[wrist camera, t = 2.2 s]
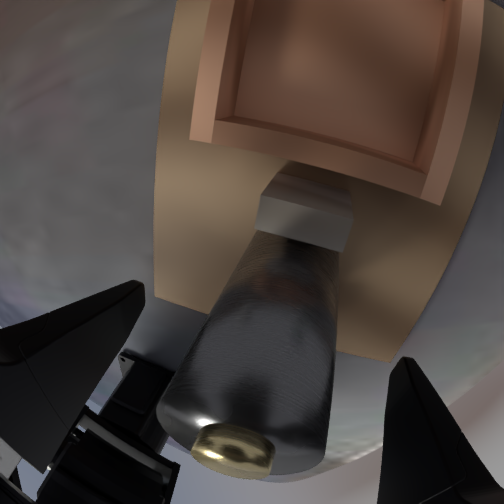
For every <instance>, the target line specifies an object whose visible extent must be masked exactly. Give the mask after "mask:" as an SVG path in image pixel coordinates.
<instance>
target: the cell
mask: <svg viewBox="0 0 504 504" xmlns="http://www.w3.org/2000/svg"><path fill="white" fill-rule="evenodd" d="M338 299H339V252H338V251H335V250H331V249H327V248H324V247H320V246H317V245H313V244H309V243H306V242H302V241H298V240H295V239H291V238H287V237H284V236H280V235H276V234H272V233H269V232H265V231H261V230H257V231H256V233H255V234H254V236H253V238H252V240H251V241H250V243H249V245H248V247H247V248H246V250H245V252H244V254H243V255H242V257H241V259H240V261H239V262H238V264H237V266H236V268H235V269H234V271H233V273H232V274H231V276H230V278H229V280H228V281H227V283H226V285H225V287H224V288H223V290H222V292H221V294H220V295H219V297H218V299H217V301H216V302H215V304H214V306H213V308H212V309H211V311H210V313H209V315H208V317H207V318H206V320H205V322H204V324H203V325H202V327H201V329H200V331H199V332H198V334H197V336H196V338H195V339H194V341H193V343H192V345H191V346H190V348H189V350H188V352H187V353H186V355H185V357H184V359H183V361H182V362H181V364H180V366H179V368H178V369H177V371H176V373H175V375H174V376H173V378H172V380H171V382H170V384H169V385H168V387H167V389H166V391H165V392H164V394H163V396H162V398H161V400H160V401H159V403H158V405H157V408H156V415H157V418H158V420H159V422H160V424H161V426H162V427H163V429H164V430H165V431H166V432H167V433H168V434H169V435H170V436H171V437H172V438H173V439H174V440H175V441H176V442H178V443H179V444H180V445H182V446H183V447H185V448H186V449H188V450H189V451H191V455H192V456H193V457H194V459H195V460H197V461H198V462H199V463H201V464H202V465H204V466H206V467H207V468H209V469H211V470H214V471H216V472H219V473H222V474H224V475H228V476H231V477H236V478H242V479H262V478H266V477H267V476H269V475H286V474H294V473H299V472H303V471H306V470H309V469H311V468H313V467H315V466H316V465H318V464H319V463H320V462H321V461H322V460H323V458H324V455H325V450H326V443H327V436H328V428H329V420H330V411H331V402H332V392H333V382H334V370H335V357H336V342H337V324H338Z"/></svg>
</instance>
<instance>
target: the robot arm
mask: <svg viewBox="0 0 504 504" xmlns="http://www.w3.org/2000/svg"><path fill="white" fill-rule="evenodd" d="M144 306H145V287H144V284H143V283H142V282H139V281H136V280H130V281H128V282H125V283H123V284H120V285H117V286H115V287H112V288H110V289H107V290H105V291H102V292H99V293H97V294H94V295H92V296H89V297H87V298H84V299H81V300H79V301H76V302H74V303H71V304H69V305H66V306H64V307H61V308H59V309H56V310H54V311H51V312H50V313H46V314H43V315H41V316H38V317H36V318H33V319H30V320H27V321H24V322H21V323H18V324H15V325H12V326H8V327H5V328H2V329H0V504H170V502H171V498H172V495H173V491H174V487H175V484H176V480H177V477H178V473H179V470H180V465H179V464H178V463H176V462H172V461H170V460H168V459H166V458H164V457H163V456H161V455H160V453H161V451H162V449H163V447H164V445H165V443H166V441H167V439H168V437H169V434H168V433H167V432H166V431H165V430H164V429H163V427H162V426H161V424H160V422H159V420H158V418H157V415H156V408H157V405H158V403H159V401H160V400H161V398H162V396H163V394H164V392H165V391H166V389H167V387H168V385H169V384H170V382H171V380H172V378H173V376H174V375H175V374H174V373H171V372H169V371H166V370H164V369H161V368H159V367H156V366H154V365H151V364H149V363H147V362H144V361H142V360H140V359H137V358H135V357H133V356H131V355H128V354H126V353H124V352H121V353H120V354H119V355H118V360H119V364H120V368H121V372H122V376H123V378H122V380H121V381H120V383H119V384H118V385H117V387H116V388H115V390H114V391H113V393H112V394H111V396H110V397H109V399H108V400H107V402H106V403H105V405H104V406H103V408H102V409H101V411H100V412H99V414H98V415H97V414H96V413H94V412H93V411H92V410H90V409H89V407H88V406H87V405H85V403H86V402H87V400H88V399H89V397H90V396H91V394H92V392H93V391H94V389H95V388H96V386H97V385H98V383H99V381H100V380H101V378H102V377H103V375H104V374H105V372H106V371H107V369H108V368H109V366H110V365H111V363H112V362H113V360H114V359H115V357H116V356H117V354H118V353H119V351H120V350H121V348H122V347H123V345H124V343H125V342H126V340H127V338H128V337H129V335H130V333H131V331H132V329H133V327H134V325H135V323H136V321H137V320H138V318H139V316H140V314H141V312H142V310H143V308H144ZM79 425H80V426H81V427H83V428H84V429H85V430H86V431H85V433H84V432H82V431H81V430H79V429H78V426H79ZM22 458H23V459H24V460H25V461H27V462H28V463H29V464H30V465H31V466H33V467H34V468H35V469H37V470H38V471H39V472H40V473H42V474H44V472H45V471H46V469H48V470H50V471H49V473H48V475H47V476H46V478H45V480H44V481H43V483H42V485H41V486H40V488H39V490H38V491H37V500H36V502H35V501H33V500H32V499H30V497H28V496H27V495H26V494H25V493H23V492H22V488H21V484H20V479H19V475H18V470H17V465H18V463H19V462H20V460H21V459H22ZM377 504H504V489H503V488H502V487H500V485H499V484H498V483H497V482H496V481H495V480H494V478H493V477H492V475H491V474H490V472H489V471H488V470H487V468H486V467H485V465H484V464H483V463H482V461H481V460H480V458H479V457H478V455H477V454H476V453H475V451H474V450H473V448H472V446H471V445H470V443H469V442H468V440H467V439H466V437H465V435H464V434H463V433H462V432H461V429H460V427H459V426H458V424H457V423H456V421H455V419H454V418H453V416H452V415H451V413H450V412H449V410H448V408H447V407H446V405H445V404H444V402H443V401H442V399H441V398H440V396H439V395H438V393H437V392H436V390H435V389H434V387H433V386H432V384H431V383H430V381H429V380H428V378H427V377H426V375H425V374H424V373H423V371H422V370H421V368H420V367H419V365H418V364H417V362H416V361H415V360H414V359H413V358H410V357H402V358H401V359H400V360H399V362H398V363H397V364H396V366H395V367H394V369H393V370H392V372H391V374H390V377H389V386H388V394H387V402H386V409H385V418H384V437H383V452H382V465H381V474H380V483H379V492H378V499H377Z"/></svg>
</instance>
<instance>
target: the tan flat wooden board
mask: <svg viewBox="0 0 504 504" xmlns="http://www.w3.org/2000/svg"><path fill="white" fill-rule="evenodd" d="M503 101H504V9H503V8H501V7H500V6H498V5H496V4H495V3H493V2H491V1H490V0H177V4H176V8H175V13H174V19H173V24H172V29H171V35H170V41H169V47H168V53H167V60H166V67H165V74H164V81H163V89H162V98H161V107H160V117H159V128H158V140H157V153H156V170H155V191H154V291H155V297H158V298H161V299H164V300H167V301H169V302H172V303H175V304H178V305H181V306H184V307H187V308H190V309H193V310H196V311H199V312H202V313H205V314H208V315H209V313H210V311H211V309H212V308H213V306H214V304H215V302H216V301H217V299H218V297H219V295H220V294H221V292H222V290H223V288H224V287H225V285H226V283H227V281H228V280H229V278H230V276H231V274H232V273H233V271H234V269H235V268H236V266H237V264H238V262H239V261H240V259H241V257H242V255H243V254H244V252H245V250H246V248H247V247H248V245H249V243H250V241H251V240H252V238H253V236H254V234H255V233H256V231H257V230H261V231H265V232H269V233H272V234H276V235H280V236H284V237H287V238H291V239H295V240H298V241H302V242H306V243H309V244H313V245H317V246H320V247H324V248H327V249H331V250H335V251H338V252H339V299H338V324H337V342H336V351H339V352H344V353H348V354H352V355H357V356H361V357H365V358H370V359H375V360H379V361H384V362H389V363H390V362H391V360H392V359H393V358H394V356H395V355H396V353H397V352H398V350H399V349H400V347H401V346H402V344H403V342H404V341H405V339H406V338H407V336H408V335H409V333H410V331H411V330H412V328H413V327H414V325H415V323H416V322H417V320H418V318H419V317H420V315H421V313H422V311H423V310H424V308H425V306H426V304H427V303H428V301H429V299H430V297H431V295H432V294H433V292H434V290H435V288H436V286H437V284H438V282H439V280H440V279H441V277H442V275H443V273H444V271H445V269H446V267H447V265H448V263H449V261H450V258H451V256H452V254H453V252H454V250H455V248H456V246H457V243H458V241H459V239H460V237H461V234H462V232H463V230H464V227H465V225H466V223H467V220H468V218H469V215H470V213H471V210H472V208H473V205H474V202H475V200H476V197H477V194H478V191H479V189H480V186H481V183H482V180H483V177H484V174H485V171H486V168H487V165H488V161H489V158H490V155H491V151H492V148H493V144H494V140H495V137H496V133H497V129H498V124H499V120H500V116H501V111H502V106H503Z"/></svg>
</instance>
